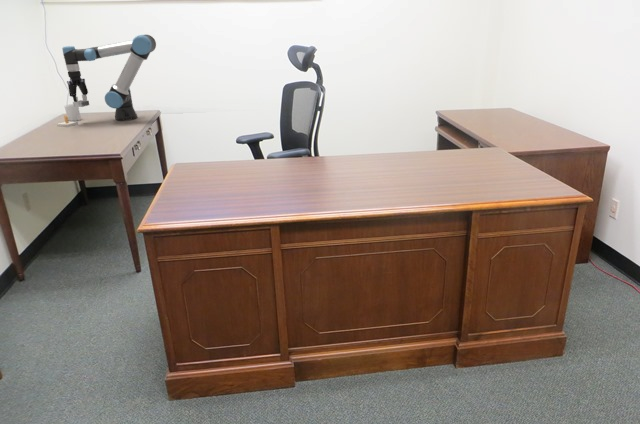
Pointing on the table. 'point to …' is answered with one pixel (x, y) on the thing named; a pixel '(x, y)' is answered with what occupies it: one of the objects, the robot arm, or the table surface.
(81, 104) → the link
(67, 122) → the keeper
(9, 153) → the table surface
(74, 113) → the mug
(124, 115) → the robot arm
